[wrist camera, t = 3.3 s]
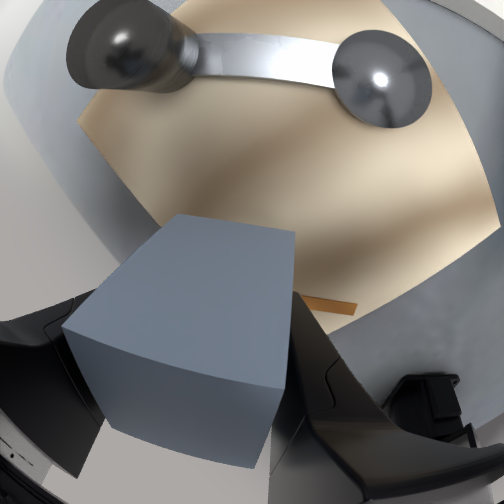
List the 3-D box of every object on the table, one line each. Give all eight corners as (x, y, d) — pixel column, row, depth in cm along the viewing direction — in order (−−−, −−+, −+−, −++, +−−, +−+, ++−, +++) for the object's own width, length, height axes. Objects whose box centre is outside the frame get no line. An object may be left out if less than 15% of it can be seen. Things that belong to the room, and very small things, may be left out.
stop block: (276, 325, 11) (253, 469, 6) (179, 306, 11) (111, 427, 6) (295, 231, 9) (284, 389, 4) (177, 213, 9) (61, 326, 4)
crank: (426, 53, 8) (484, 30, 4) (416, 138, 10) (475, 154, 6) (141, 23, 10) (77, -2, 5) (131, 102, 12) (61, 105, 7)
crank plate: (487, 217, 13) (501, 227, 11) (281, 340, 19) (280, 356, 17) (301, -53, 8) (300, -68, 6) (92, 119, 14) (75, 121, 12)
